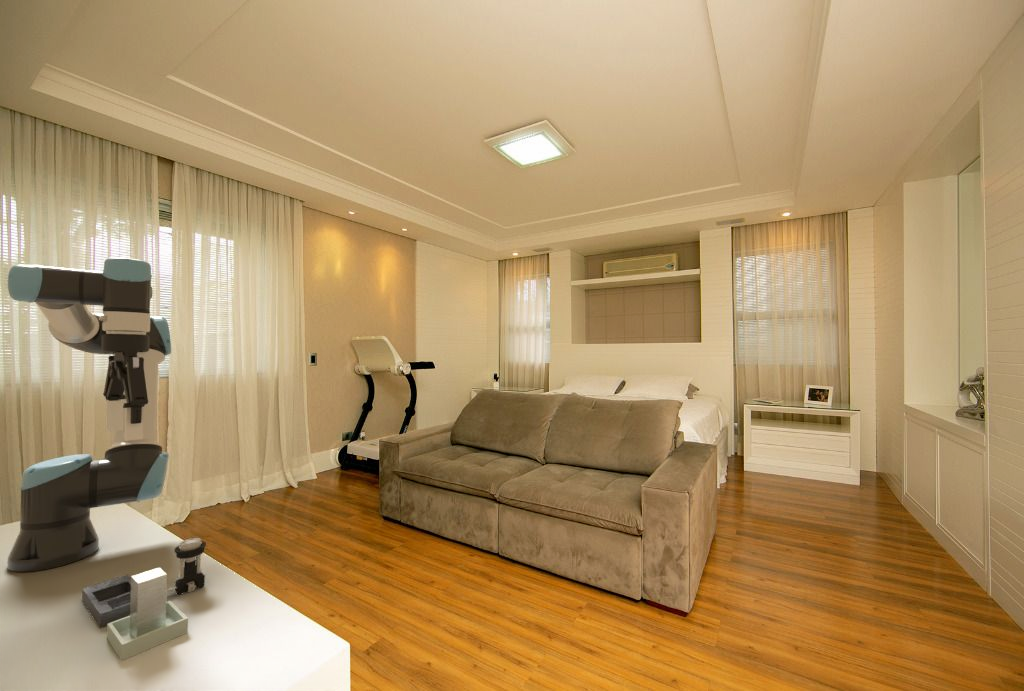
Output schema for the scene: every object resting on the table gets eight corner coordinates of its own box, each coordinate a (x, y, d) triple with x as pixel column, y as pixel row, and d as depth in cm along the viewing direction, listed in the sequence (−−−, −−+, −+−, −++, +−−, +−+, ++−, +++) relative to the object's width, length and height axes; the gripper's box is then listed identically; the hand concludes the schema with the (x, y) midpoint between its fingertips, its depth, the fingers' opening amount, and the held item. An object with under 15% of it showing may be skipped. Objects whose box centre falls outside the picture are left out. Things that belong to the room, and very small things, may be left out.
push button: (169, 602, 88) (170, 551, 88) (162, 592, 91) (163, 544, 91) (208, 588, 93) (209, 541, 93) (200, 580, 96) (201, 534, 96)
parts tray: (106, 638, 77) (107, 623, 77) (169, 613, 84) (170, 600, 84) (121, 660, 71) (122, 644, 71) (187, 632, 79) (187, 618, 79)
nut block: (129, 633, 77) (131, 576, 77) (157, 622, 80) (159, 567, 81) (136, 642, 75) (138, 583, 75) (165, 631, 78) (166, 574, 78)
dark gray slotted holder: (81, 601, 88) (82, 588, 88) (127, 586, 93) (127, 574, 93) (100, 628, 79) (100, 613, 79) (148, 610, 85) (149, 596, 85)
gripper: (86, 332, 96) (84, 429, 96) (120, 332, 82) (117, 447, 82) (131, 333, 103) (128, 424, 103) (169, 334, 88) (166, 440, 88)
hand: (123, 435), depth 92 cm, fingers open, 13 cm apart
